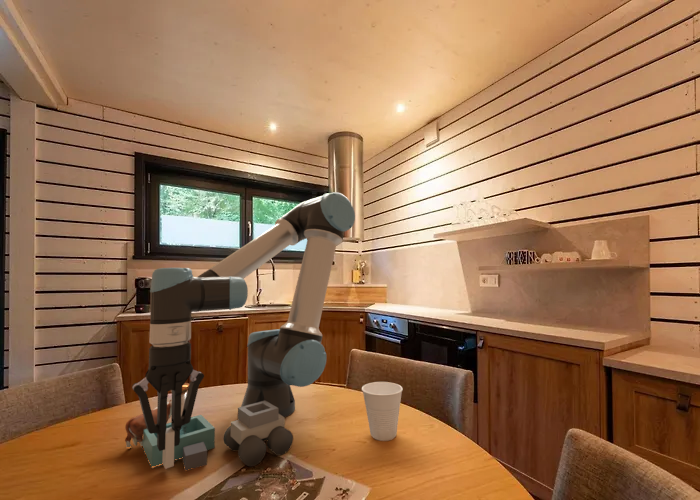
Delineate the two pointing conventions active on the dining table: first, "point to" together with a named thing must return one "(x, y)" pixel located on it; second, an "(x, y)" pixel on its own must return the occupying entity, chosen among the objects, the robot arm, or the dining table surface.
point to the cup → (382, 408)
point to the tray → (181, 439)
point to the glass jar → (183, 398)
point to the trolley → (258, 432)
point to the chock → (194, 455)
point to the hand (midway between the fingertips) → (168, 464)
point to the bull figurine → (142, 426)
